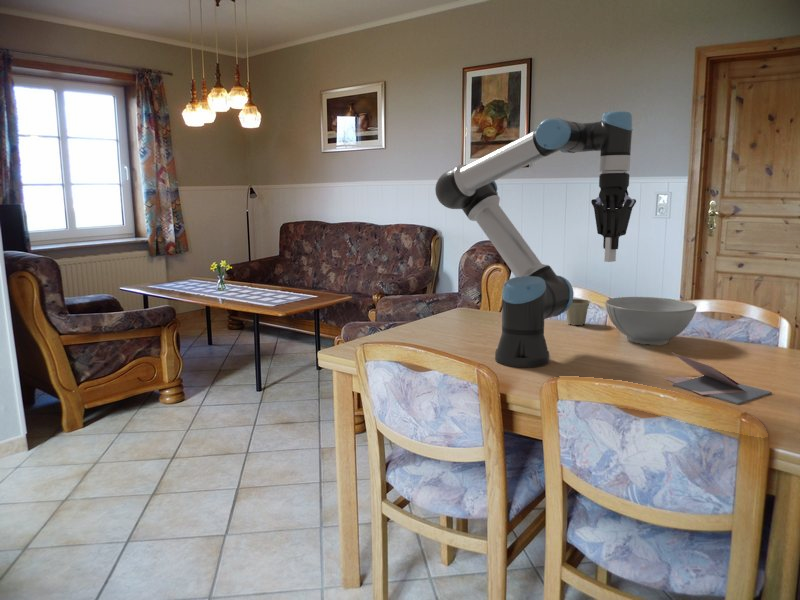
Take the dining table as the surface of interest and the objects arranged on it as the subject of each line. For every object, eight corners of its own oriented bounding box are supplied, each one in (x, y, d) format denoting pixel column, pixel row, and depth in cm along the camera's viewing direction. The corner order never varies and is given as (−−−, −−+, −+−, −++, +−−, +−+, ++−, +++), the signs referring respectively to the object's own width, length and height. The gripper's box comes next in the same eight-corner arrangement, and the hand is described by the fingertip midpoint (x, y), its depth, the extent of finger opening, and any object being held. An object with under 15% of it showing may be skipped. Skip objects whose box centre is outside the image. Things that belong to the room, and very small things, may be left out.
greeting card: (705, 372, 153) (747, 388, 139) (689, 396, 153) (730, 414, 139) (673, 349, 151) (713, 363, 136) (656, 373, 151) (695, 390, 136)
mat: (737, 404, 131) (737, 402, 131) (672, 385, 145) (672, 384, 145) (771, 393, 138) (771, 391, 138) (706, 376, 152) (706, 375, 152)
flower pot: (557, 322, 219) (558, 299, 217) (579, 320, 222) (580, 298, 220) (572, 327, 210) (573, 303, 209) (594, 325, 213) (595, 302, 211)
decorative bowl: (587, 339, 192) (588, 303, 190) (630, 327, 209) (632, 294, 207) (668, 356, 172) (671, 315, 170) (708, 341, 189) (711, 303, 187)
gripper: (644, 171, 153) (639, 262, 157) (604, 173, 164) (600, 258, 168) (625, 171, 150) (620, 264, 154) (585, 173, 161) (581, 260, 165)
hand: (609, 261), depth 161 cm, fingers closed
